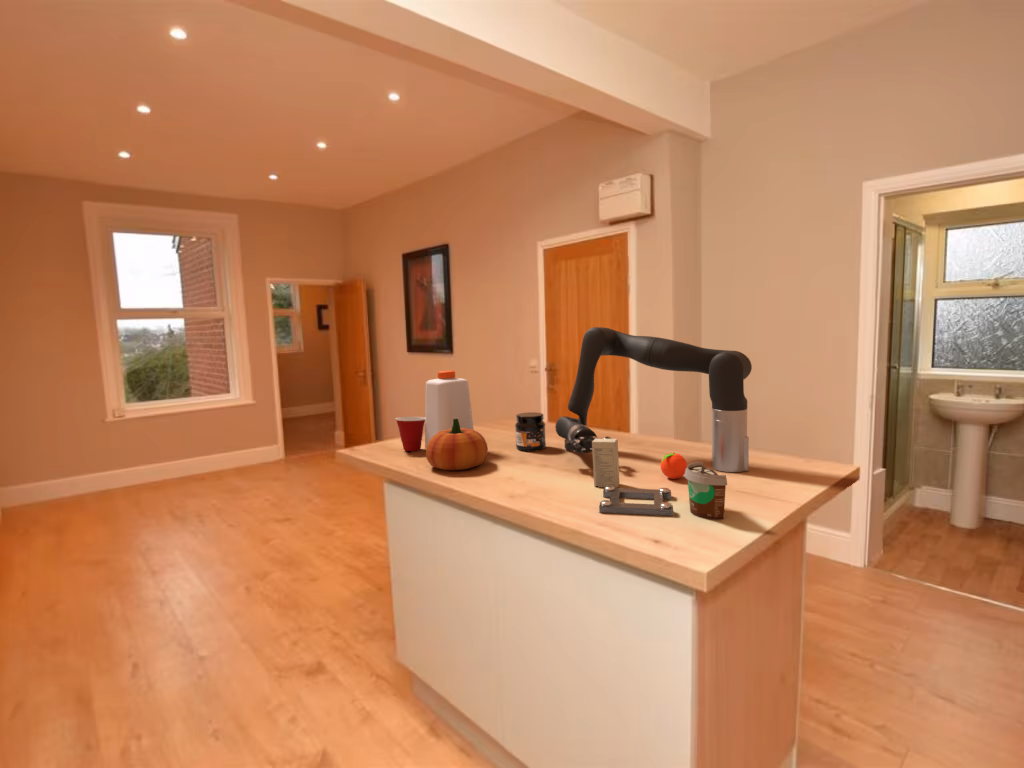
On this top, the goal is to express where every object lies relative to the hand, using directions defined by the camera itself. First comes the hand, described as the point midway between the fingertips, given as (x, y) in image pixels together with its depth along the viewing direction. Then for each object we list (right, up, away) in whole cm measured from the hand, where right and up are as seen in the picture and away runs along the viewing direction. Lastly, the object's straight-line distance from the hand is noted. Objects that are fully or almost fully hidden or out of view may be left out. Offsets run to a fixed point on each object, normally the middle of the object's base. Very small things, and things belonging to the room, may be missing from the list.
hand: (595, 449), depth 151 cm
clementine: (+20, -7, -7) cm, 22 cm away
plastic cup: (-59, -5, +40) cm, 72 cm away
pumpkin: (-40, -7, +16) cm, 44 cm away
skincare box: (+1, -8, -10) cm, 13 cm away
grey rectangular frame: (+6, -10, -26) cm, 28 cm away
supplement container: (-17, -4, +36) cm, 40 cm away
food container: (+18, -10, -33) cm, 39 cm away
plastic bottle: (-45, -5, +38) cm, 59 cm away
